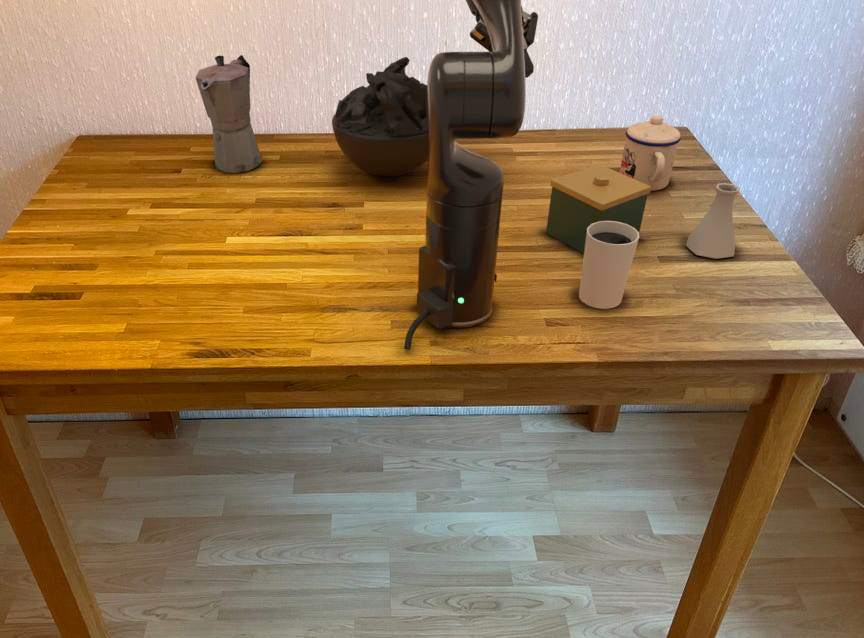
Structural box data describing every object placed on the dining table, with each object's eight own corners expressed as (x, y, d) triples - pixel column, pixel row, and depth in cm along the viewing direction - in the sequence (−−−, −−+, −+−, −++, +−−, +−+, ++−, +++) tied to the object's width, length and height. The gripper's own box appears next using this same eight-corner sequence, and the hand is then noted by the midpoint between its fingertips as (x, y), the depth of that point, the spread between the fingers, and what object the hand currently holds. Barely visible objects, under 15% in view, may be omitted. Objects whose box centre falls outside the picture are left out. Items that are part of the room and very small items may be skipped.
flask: (728, 237, 115) (746, 177, 109) (741, 261, 109) (761, 199, 103) (680, 236, 116) (696, 176, 110) (690, 259, 110) (708, 197, 104)
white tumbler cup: (606, 280, 106) (619, 217, 99) (634, 304, 101) (650, 239, 94) (566, 290, 104) (576, 226, 98) (593, 314, 99) (606, 249, 93)
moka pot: (196, 176, 136) (176, 64, 124) (233, 145, 147) (219, 40, 135) (243, 182, 134) (228, 68, 121) (277, 150, 145) (266, 43, 133)
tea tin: (592, 259, 110) (604, 198, 104) (543, 232, 117) (551, 173, 111) (639, 240, 115) (653, 180, 109) (589, 215, 122) (600, 157, 116)
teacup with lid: (611, 171, 136) (623, 107, 129) (661, 171, 135) (676, 107, 128) (627, 199, 126) (641, 133, 119) (680, 199, 126) (697, 133, 119)
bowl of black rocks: (380, 205, 125) (379, 94, 114) (313, 169, 138) (305, 65, 126) (465, 174, 135) (471, 68, 124) (395, 143, 148) (395, 44, 136)
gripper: (460, -36, 110) (508, 70, 109) (526, -45, 115) (572, 54, 115) (437, -3, 116) (482, 96, 116) (501, -14, 122) (544, 80, 122)
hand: (527, 75), depth 115 cm, fingers closed
